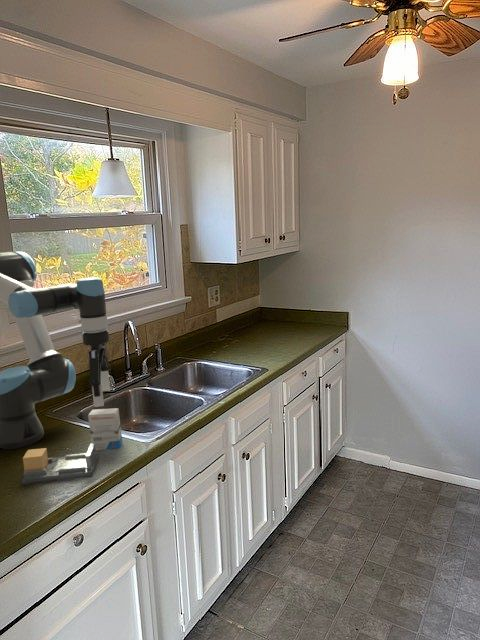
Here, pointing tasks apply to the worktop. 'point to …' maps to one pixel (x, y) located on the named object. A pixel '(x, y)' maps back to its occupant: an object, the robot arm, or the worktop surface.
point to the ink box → (105, 428)
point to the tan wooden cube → (35, 459)
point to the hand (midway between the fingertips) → (102, 398)
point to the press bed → (65, 467)
